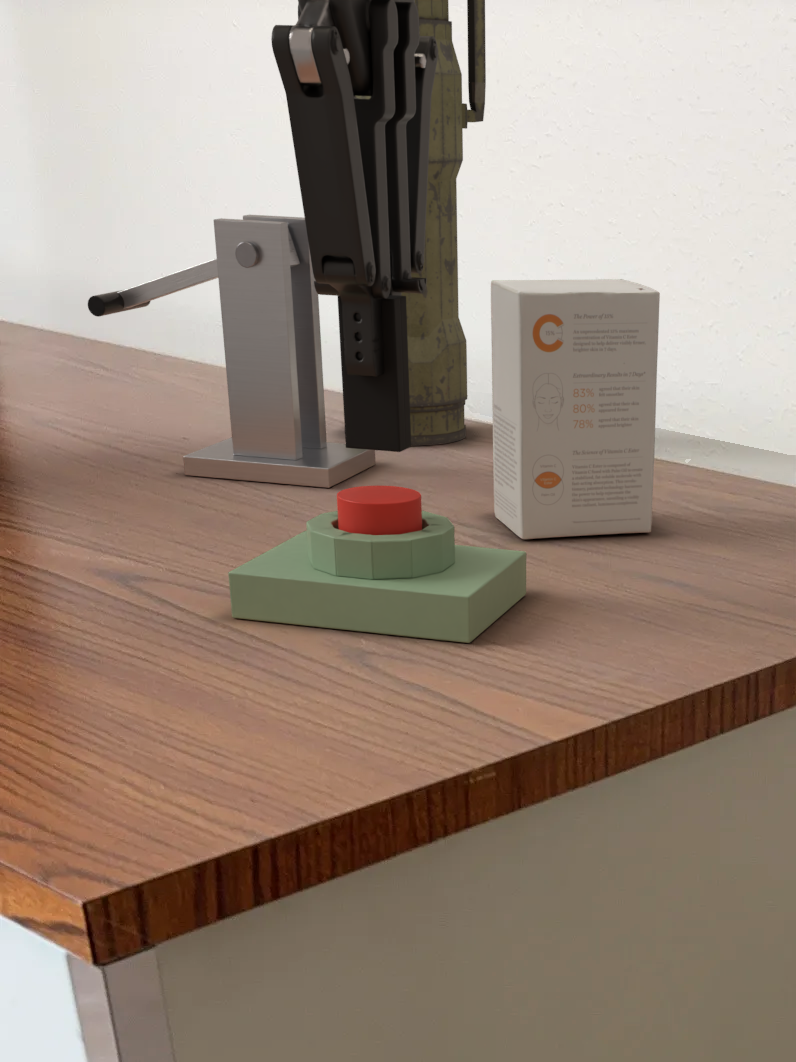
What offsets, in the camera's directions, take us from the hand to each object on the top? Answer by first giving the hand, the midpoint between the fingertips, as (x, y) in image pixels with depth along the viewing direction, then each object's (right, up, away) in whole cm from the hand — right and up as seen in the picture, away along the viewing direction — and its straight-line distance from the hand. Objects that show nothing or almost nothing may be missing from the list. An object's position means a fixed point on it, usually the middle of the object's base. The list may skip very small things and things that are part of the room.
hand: (378, 446), depth 77 cm
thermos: (-4, +17, +43) cm, 46 cm away
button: (0, -3, +2) cm, 4 cm away
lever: (-15, +19, +27) cm, 36 cm away
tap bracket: (-11, +10, +31) cm, 34 cm away
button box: (0, -6, +4) cm, 8 cm away
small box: (+8, +3, +20) cm, 22 cm away
